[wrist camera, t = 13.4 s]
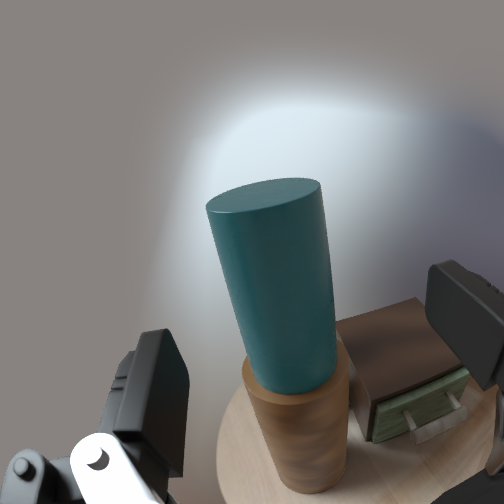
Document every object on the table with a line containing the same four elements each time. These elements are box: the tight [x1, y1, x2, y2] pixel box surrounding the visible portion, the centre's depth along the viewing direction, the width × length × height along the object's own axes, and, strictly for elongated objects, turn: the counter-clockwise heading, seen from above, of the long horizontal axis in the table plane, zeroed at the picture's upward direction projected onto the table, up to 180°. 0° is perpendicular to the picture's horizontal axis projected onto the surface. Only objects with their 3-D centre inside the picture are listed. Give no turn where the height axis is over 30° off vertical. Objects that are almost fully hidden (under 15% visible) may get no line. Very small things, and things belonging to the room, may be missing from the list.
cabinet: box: [336, 297, 464, 441], centre depth 33 cm, size 14×13×9 cm
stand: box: [242, 339, 349, 494], centre depth 24 cm, size 8×8×18 cm
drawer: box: [371, 366, 470, 445], centre depth 29 cm, size 17×11×7 cm
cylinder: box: [206, 178, 338, 395], centre depth 18 cm, size 6×6×12 cm
